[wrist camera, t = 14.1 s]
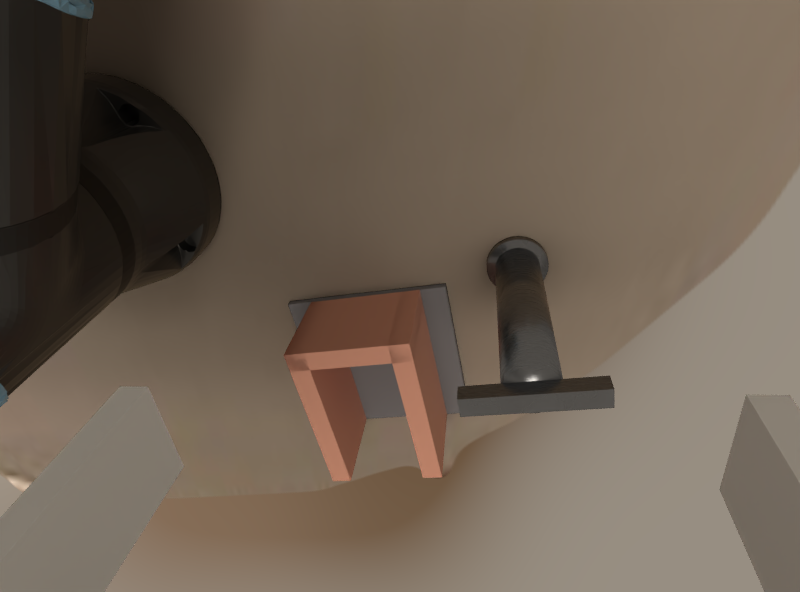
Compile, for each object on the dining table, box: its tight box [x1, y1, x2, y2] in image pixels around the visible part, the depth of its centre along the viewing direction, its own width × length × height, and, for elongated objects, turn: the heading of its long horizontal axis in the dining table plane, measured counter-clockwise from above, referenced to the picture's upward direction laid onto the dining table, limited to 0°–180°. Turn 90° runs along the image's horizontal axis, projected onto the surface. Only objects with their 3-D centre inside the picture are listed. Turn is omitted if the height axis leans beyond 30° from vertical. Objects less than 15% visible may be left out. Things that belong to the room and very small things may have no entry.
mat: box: [288, 284, 465, 419], centre depth 45 cm, size 13×13×1 cm
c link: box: [284, 290, 447, 481], centre depth 42 cm, size 9×13×7 cm
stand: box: [457, 236, 614, 417], centre depth 33 cm, size 8×4×15 cm, turn 102°
